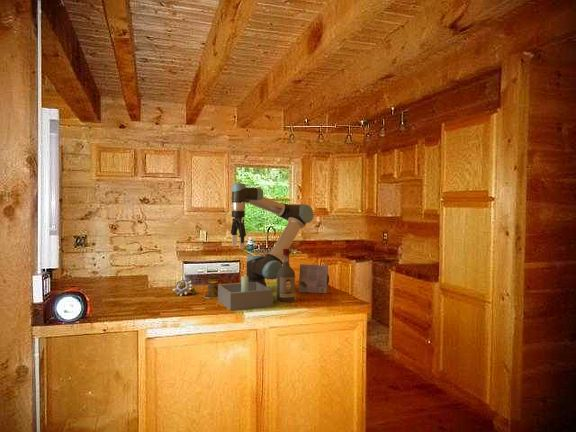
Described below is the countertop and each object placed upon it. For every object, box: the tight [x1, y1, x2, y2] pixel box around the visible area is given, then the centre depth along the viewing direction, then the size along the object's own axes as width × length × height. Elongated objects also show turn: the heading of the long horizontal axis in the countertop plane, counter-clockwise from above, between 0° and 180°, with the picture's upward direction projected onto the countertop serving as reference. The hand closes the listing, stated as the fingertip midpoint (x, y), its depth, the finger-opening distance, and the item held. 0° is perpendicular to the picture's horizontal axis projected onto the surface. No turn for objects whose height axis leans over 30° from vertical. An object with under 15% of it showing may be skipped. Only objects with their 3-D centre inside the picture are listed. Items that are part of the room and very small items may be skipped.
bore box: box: [217, 282, 274, 312], centre depth 221 cm, size 24×24×9 cm
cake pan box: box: [298, 263, 330, 294], centre depth 252 cm, size 19×5×18 cm, turn 84°
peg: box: [240, 275, 249, 292], centre depth 221 cm, size 4×4×15 cm
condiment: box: [202, 275, 219, 299], centre depth 236 cm, size 7×8×12 cm
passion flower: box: [171, 277, 196, 297], centre depth 240 cm, size 11×11×12 cm
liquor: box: [276, 248, 296, 303], centre depth 228 cm, size 9×9×30 cm
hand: (237, 247), depth 226 cm, fingers open, 13 cm apart
